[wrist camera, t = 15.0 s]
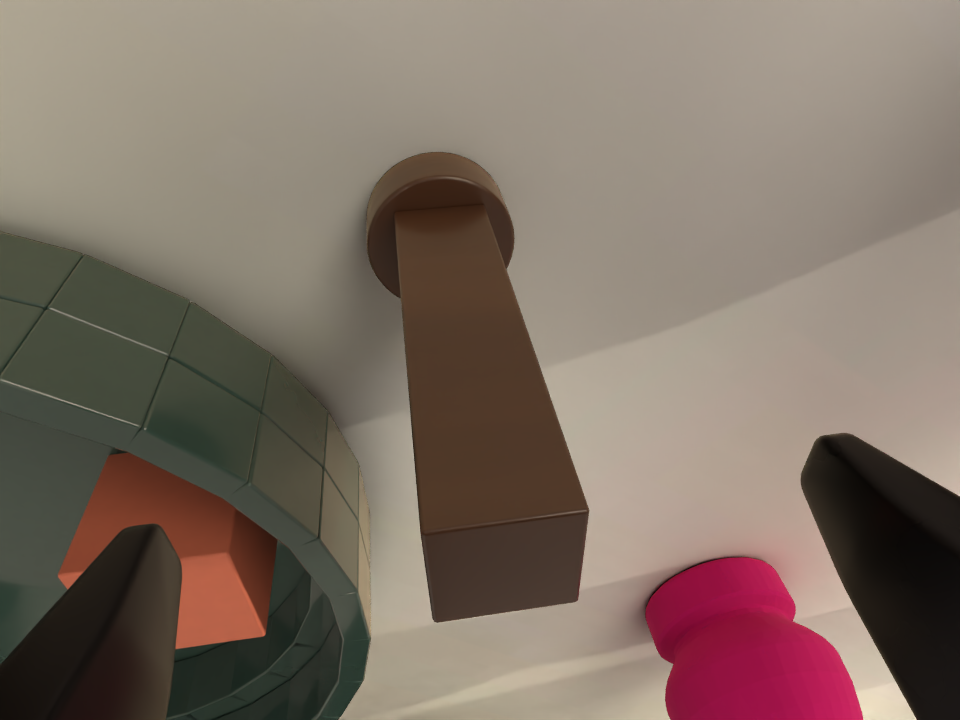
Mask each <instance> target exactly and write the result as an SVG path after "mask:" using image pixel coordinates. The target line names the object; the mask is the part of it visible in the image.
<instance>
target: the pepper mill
mask: <svg viewBox="0 0 960 720" xmlns="http://www.w3.org/2000/svg"><path fill="white" fill-rule="evenodd" d="M795 611H796V607H795V604H794V601H793V599H792V598H791V596H790V594H789V592H788V591H787V589H786V587H785V586H784V584H783V582H782V580H781V579H780V577H779V575H778V574H777V572H776V571H775V569H774V568H773V567H772V566H770V565H769V564H767V563H765V562H764V561H761V560H757V559H752V558H748V557H737V558H723V559H717V560H713V561H709V562H706V563H703V564H700V565H697V566H695V567H692V568H690V569H688V570H686V571H683V572H681V573H679V574H677V575H676V576H674V577H673V578H671V579H670V580H668V581H667V582H666V583H664V584H663V585H662V586H661V587H660V588H659V589H658V590H657V591H656V592H655V593H654V594H653V596H652V597H651V598H650V600H649V603H648V605H647V607H646V613H645V618H646V621H647V624H648V627H649V629H650V632H651V635H652V638H653V640H654V643H655V646H656V649H657V651H658V653H659V654H660V656H661V657H662V658H663V659H665V660H667V661H668V662H670V663H673V667H672V670H671V673H670V675H669V678H668V681H667V686H666V694H665V702H666V708H667V712H668V715H669V717H670V719H671V720H863V716H862V711H861V708H860V705H859V701H858V698H857V695H856V692H855V689H854V685H853V682H852V680H851V678H850V676H849V674H848V672H847V670H846V668H845V666H844V664H843V662H842V659H841V657H840V656H839V654H838V652H837V651H836V650H835V648H834V647H833V646H832V645H831V644H830V643H829V642H828V641H827V640H826V639H825V638H823V637H822V636H820V635H819V634H817V633H815V632H813V631H812V630H810V629H808V628H806V627H804V626H802V625H800V624H797V623H795V622H793V619H794V616H795Z"/></svg>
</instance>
